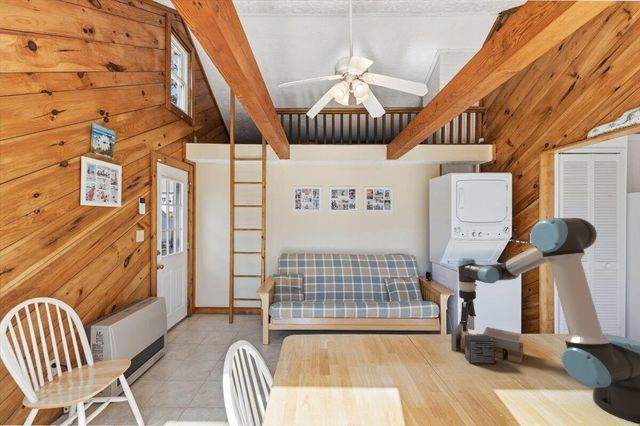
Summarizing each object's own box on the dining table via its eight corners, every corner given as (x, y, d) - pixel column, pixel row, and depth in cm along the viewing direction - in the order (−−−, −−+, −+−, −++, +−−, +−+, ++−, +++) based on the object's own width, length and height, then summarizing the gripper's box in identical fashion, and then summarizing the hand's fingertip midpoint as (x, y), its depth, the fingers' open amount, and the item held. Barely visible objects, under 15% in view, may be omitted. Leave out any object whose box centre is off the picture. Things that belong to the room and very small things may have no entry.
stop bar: (455, 351, 143) (455, 334, 143) (451, 350, 145) (451, 333, 145) (465, 337, 159) (465, 322, 159) (461, 336, 160) (461, 321, 160)
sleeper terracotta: (469, 351, 144) (469, 341, 144) (460, 349, 146) (460, 339, 146) (474, 343, 152) (474, 334, 152) (466, 341, 155) (466, 332, 155)
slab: (518, 351, 132) (518, 342, 132) (482, 343, 140) (482, 334, 140) (520, 342, 141) (520, 333, 141) (486, 335, 150) (486, 326, 150)
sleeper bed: (521, 363, 131) (521, 351, 131) (472, 351, 143) (472, 340, 143) (523, 353, 140) (523, 343, 140) (477, 343, 152) (477, 333, 152)
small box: (488, 358, 137) (488, 334, 137) (495, 365, 130) (495, 340, 130) (464, 357, 138) (464, 333, 138) (469, 364, 131) (469, 339, 131)
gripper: (470, 296, 137) (471, 343, 137) (480, 286, 157) (481, 327, 156) (452, 294, 142) (453, 339, 141) (464, 284, 162) (465, 324, 161)
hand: (468, 333), depth 149 cm, fingers open, 13 cm apart
